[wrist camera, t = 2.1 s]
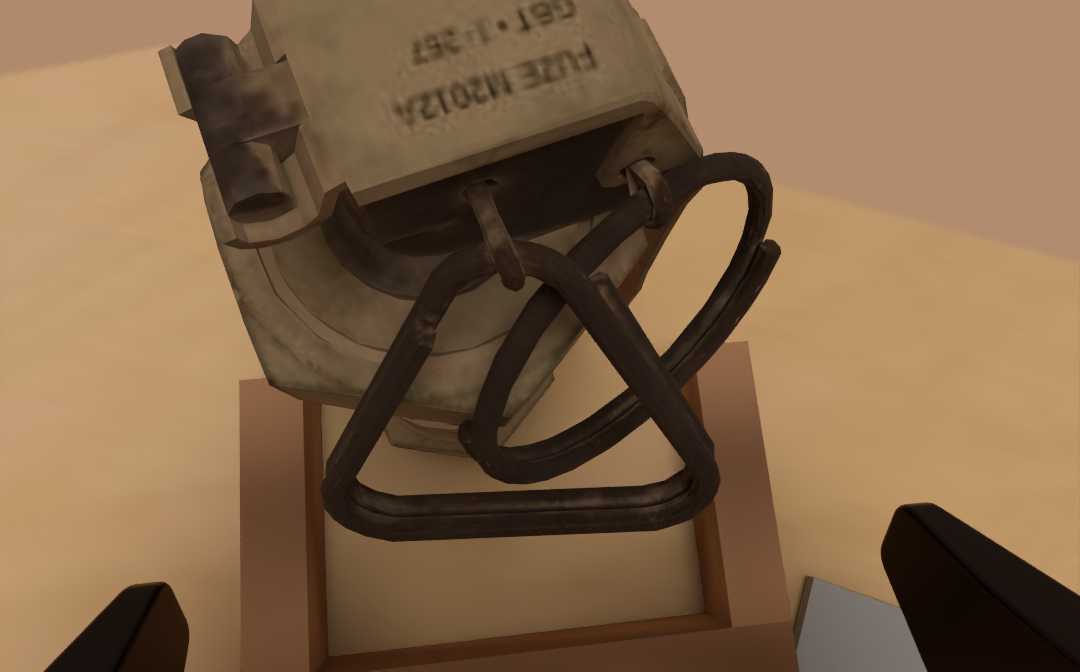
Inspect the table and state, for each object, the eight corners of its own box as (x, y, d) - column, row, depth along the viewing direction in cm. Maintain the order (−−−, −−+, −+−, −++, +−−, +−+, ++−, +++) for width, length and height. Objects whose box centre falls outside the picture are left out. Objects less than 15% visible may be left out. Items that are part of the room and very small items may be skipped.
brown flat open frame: (768, 665, 19) (802, 686, 17) (268, 729, 17) (241, 759, 15) (722, 355, 20) (747, 341, 18) (264, 391, 19) (239, 380, 17)
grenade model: (438, 556, 19) (287, 810, 4) (351, 319, 20) (-12, -156, 5) (653, 465, 20) (1162, 401, 5) (559, 244, 21) (750, -332, 6)
